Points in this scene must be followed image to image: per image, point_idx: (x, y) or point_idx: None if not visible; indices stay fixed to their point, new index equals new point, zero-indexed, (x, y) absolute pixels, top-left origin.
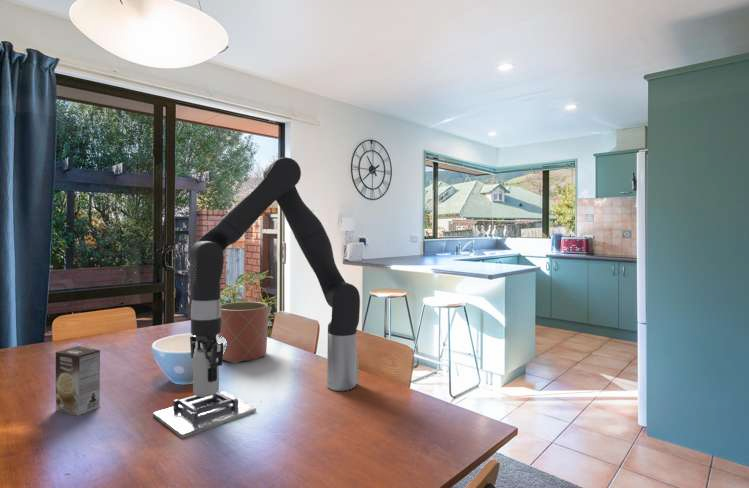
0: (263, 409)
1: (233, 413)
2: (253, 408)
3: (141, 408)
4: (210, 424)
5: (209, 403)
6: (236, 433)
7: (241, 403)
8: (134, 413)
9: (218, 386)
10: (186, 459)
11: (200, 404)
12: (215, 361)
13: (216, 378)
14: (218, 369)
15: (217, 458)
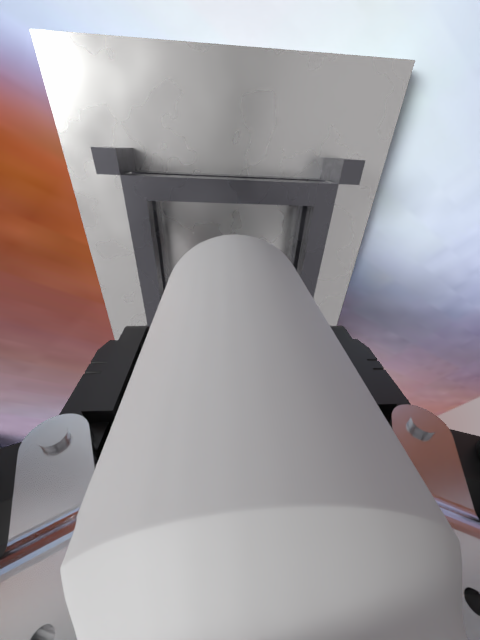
0: (425, 2)
1: (352, 199)
2: (406, 81)
3: (38, 370)
4: (342, 302)
5: (172, 215)
6: (441, 260)
7: (297, 86)
8: (71, 389)
9: (291, 264)
10: (403, 386)
11: (165, 254)
12: (422, 470)
13: (360, 342)
14: (330, 330)
15: (468, 350)
